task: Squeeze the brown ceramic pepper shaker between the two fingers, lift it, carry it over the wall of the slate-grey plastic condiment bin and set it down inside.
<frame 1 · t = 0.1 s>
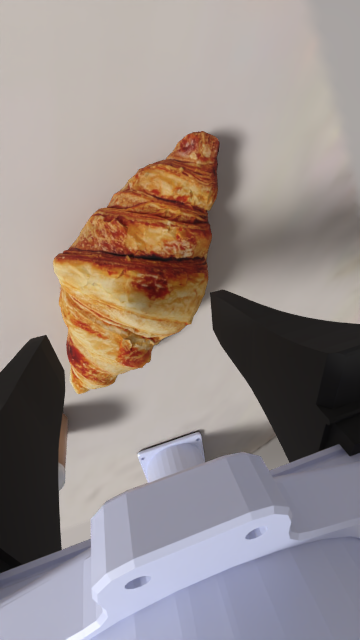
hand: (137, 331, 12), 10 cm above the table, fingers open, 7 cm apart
shaker: (46, 423, 27), on the table
croissant: (125, 274, 22), on the table
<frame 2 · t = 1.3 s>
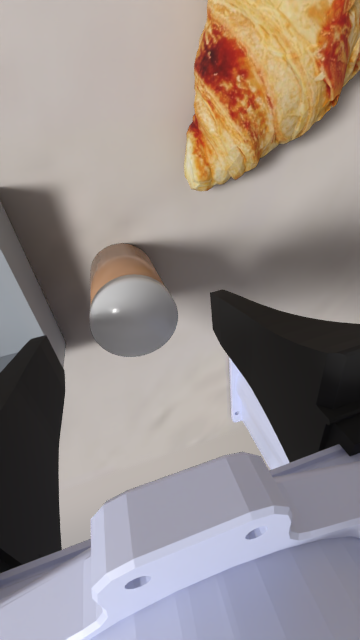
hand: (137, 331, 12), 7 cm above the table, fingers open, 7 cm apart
shaker: (122, 274, 18), on the table
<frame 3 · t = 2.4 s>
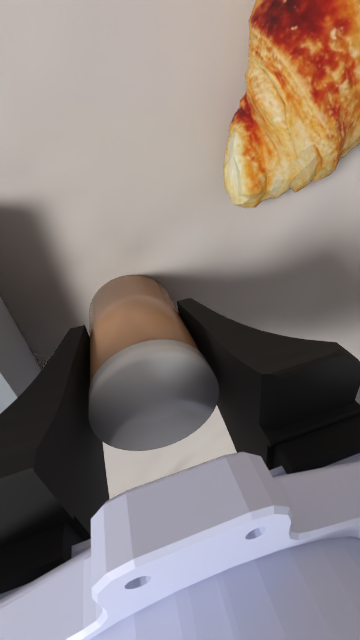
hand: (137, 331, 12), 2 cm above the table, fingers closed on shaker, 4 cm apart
shaker: (132, 313, 13), on the table, touching gripper
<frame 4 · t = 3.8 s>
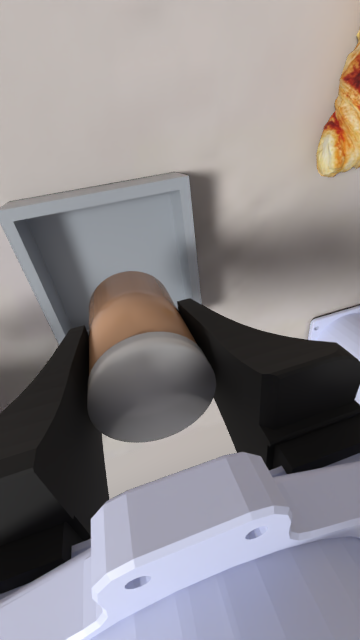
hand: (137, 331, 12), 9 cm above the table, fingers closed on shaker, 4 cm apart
shaker: (131, 309, 14), point 7 cm above the table, touching gripper
bin: (116, 263, 19), on the table
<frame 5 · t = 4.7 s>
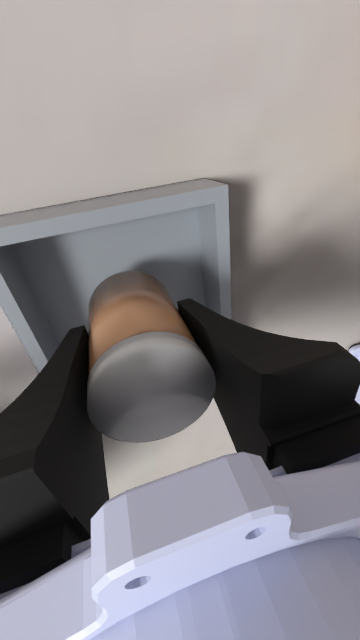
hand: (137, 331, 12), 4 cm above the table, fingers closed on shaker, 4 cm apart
shaker: (131, 309, 14), point 2 cm above the table, touching gripper
bin: (126, 291, 16), on the table
when the fingers open (4 cm above the table, at t = 5.2 s): shaker drops 1 cm, resting on bin.
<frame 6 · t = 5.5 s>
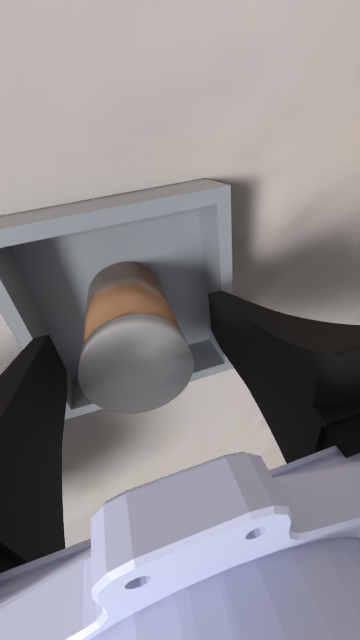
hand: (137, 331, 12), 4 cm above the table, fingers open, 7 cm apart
shaker: (126, 297, 15), point 1 cm above the table, touching bin
bin: (126, 293, 15), on the table
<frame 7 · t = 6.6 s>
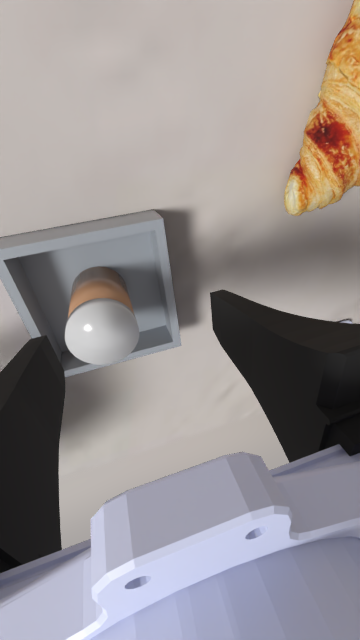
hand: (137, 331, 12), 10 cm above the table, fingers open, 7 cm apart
shaker: (100, 291, 21), point 1 cm above the table, touching bin
bin: (101, 289, 21), on the table
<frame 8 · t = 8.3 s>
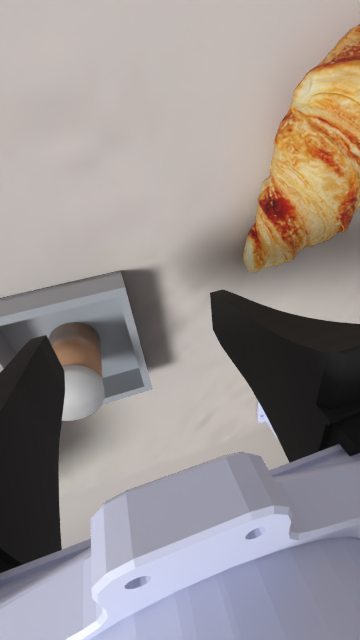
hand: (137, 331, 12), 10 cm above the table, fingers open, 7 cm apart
shaker: (74, 343, 22), resting on bin
bin: (75, 339, 23), on the table
croissant: (320, 138, 20), on the table
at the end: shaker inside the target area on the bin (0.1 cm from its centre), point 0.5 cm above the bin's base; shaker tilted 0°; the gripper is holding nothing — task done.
